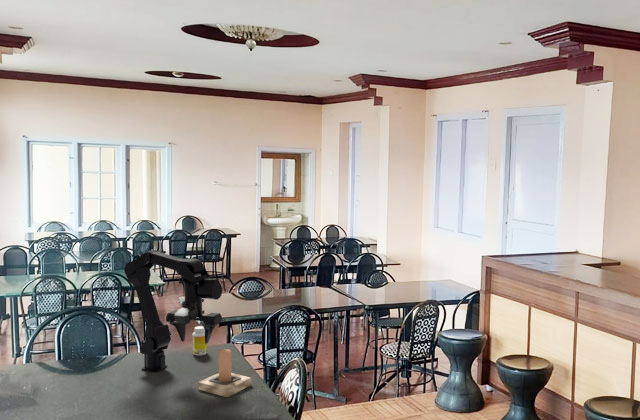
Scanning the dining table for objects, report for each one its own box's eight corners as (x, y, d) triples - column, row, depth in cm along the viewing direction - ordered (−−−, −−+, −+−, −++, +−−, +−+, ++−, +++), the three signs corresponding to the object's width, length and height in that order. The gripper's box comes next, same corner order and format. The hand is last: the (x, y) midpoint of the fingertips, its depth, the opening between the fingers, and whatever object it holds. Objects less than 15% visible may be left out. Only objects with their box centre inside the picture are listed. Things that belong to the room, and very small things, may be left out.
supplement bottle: (209, 354, 221) (209, 327, 220) (196, 357, 217) (196, 330, 217) (202, 350, 225) (202, 324, 224) (189, 353, 222) (189, 327, 221)
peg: (218, 389, 185) (217, 353, 184) (219, 385, 189) (219, 349, 188) (230, 389, 185) (230, 353, 184) (231, 384, 189) (231, 349, 188)
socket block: (198, 389, 185) (198, 381, 185) (223, 378, 195) (223, 370, 195) (227, 397, 179) (227, 388, 179) (251, 385, 189) (251, 376, 189)
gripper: (155, 300, 190) (157, 347, 191) (204, 303, 184) (206, 351, 185) (174, 293, 201) (176, 338, 201) (222, 296, 194) (223, 342, 195)
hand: (194, 342), depth 195 cm, fingers open, 9 cm apart
